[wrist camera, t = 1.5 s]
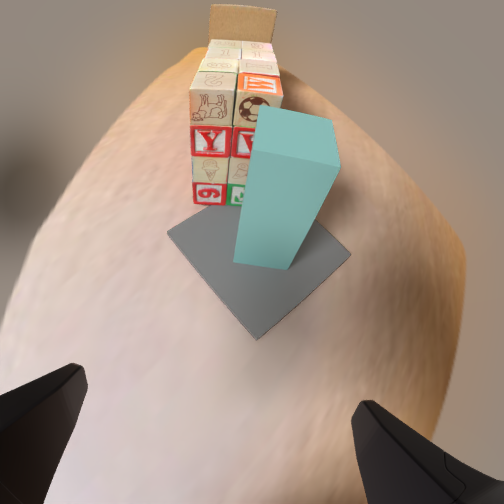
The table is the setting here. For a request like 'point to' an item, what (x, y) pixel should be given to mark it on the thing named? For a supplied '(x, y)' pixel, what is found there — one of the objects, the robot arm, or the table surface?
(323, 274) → the charcoal mat
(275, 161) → the teal block
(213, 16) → the sandwich container
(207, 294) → the table surface
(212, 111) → the stack of blocks
